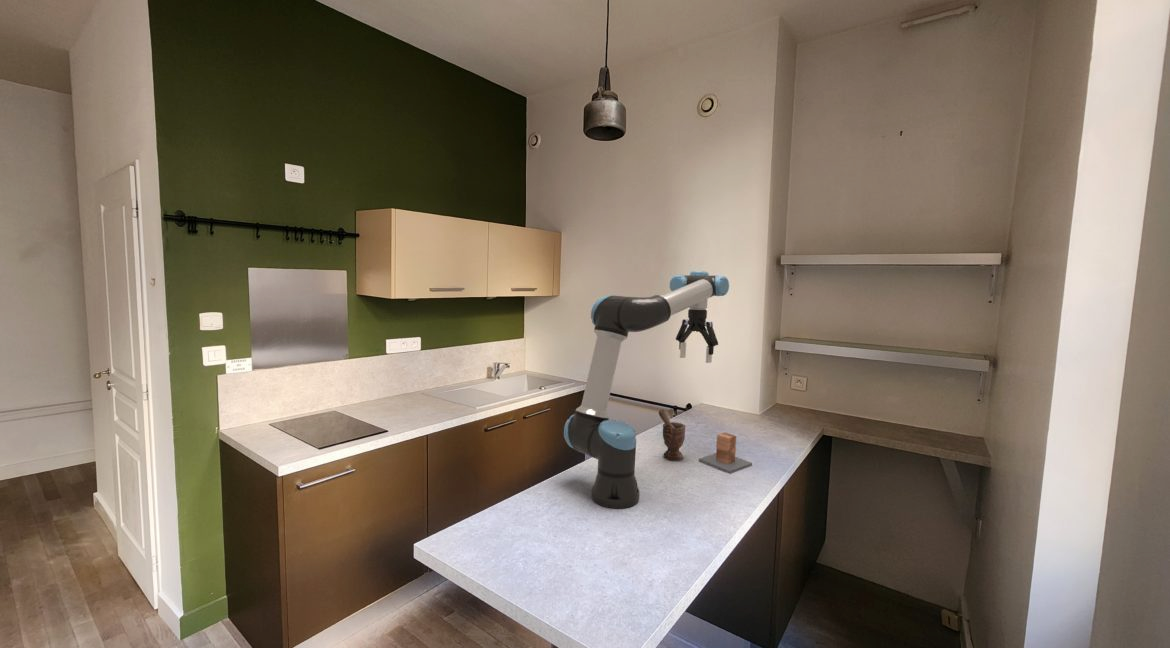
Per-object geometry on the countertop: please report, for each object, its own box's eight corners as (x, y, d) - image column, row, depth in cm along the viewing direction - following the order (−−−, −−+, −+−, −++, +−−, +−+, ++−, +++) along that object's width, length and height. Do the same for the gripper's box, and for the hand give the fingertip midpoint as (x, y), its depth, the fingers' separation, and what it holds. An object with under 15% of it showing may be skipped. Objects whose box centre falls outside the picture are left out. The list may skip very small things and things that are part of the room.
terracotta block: (726, 464, 176) (728, 438, 175) (715, 460, 180) (717, 434, 179) (734, 461, 179) (736, 436, 178) (723, 457, 183) (725, 432, 182)
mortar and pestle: (673, 465, 176) (675, 413, 174) (653, 459, 181) (655, 409, 179) (687, 457, 185) (690, 407, 183) (668, 452, 190) (670, 403, 188)
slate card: (729, 473, 170) (729, 471, 170) (698, 461, 181) (698, 458, 181) (752, 465, 178) (752, 462, 178) (721, 454, 189) (721, 451, 189)
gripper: (729, 310, 185) (726, 363, 187) (680, 307, 205) (678, 355, 207) (717, 311, 181) (714, 365, 182) (668, 307, 200) (666, 356, 202)
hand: (695, 360), depth 195 cm, fingers open, 13 cm apart
